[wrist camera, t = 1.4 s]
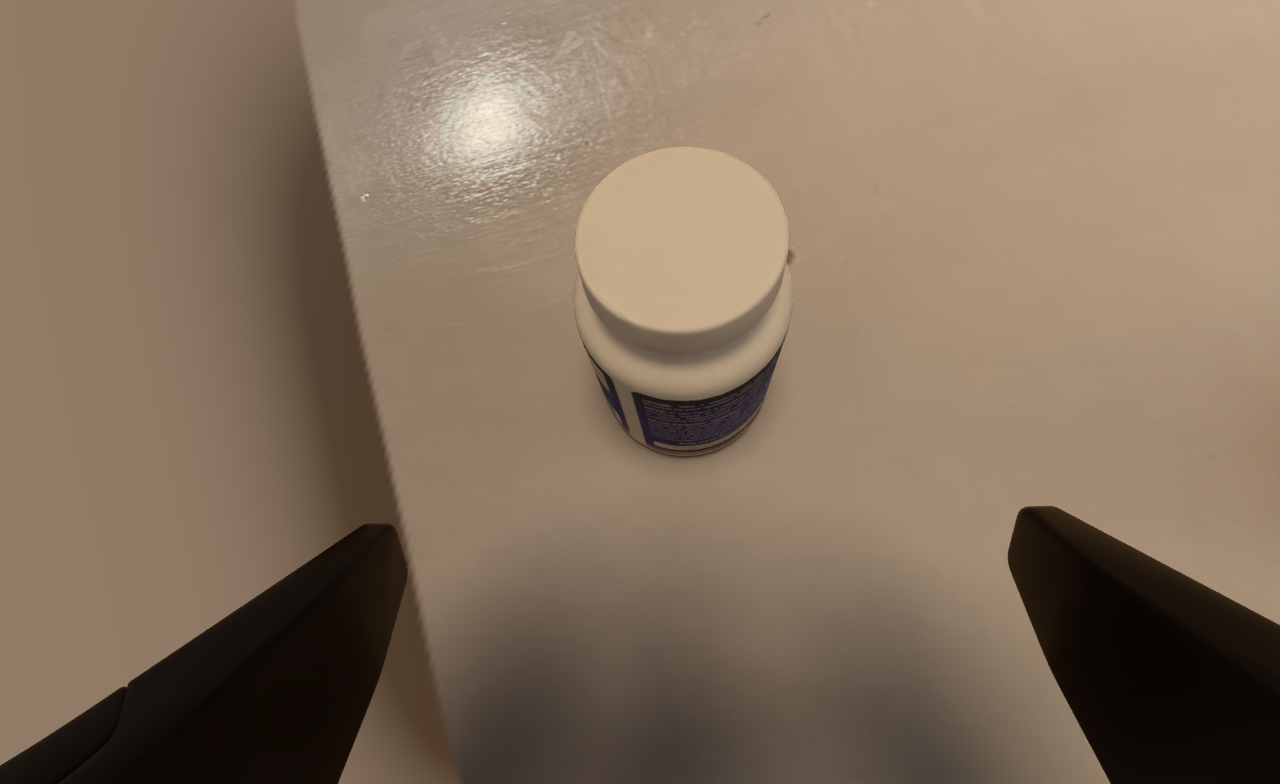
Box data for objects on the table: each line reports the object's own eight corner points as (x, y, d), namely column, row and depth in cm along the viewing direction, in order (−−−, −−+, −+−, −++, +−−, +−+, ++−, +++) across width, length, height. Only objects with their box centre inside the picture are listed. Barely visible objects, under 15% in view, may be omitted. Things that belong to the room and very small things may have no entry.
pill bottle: (792, 351, 23) (862, 184, 14) (717, 489, 22) (738, 408, 13) (654, 284, 25) (633, 88, 15) (576, 410, 23) (497, 282, 14)
